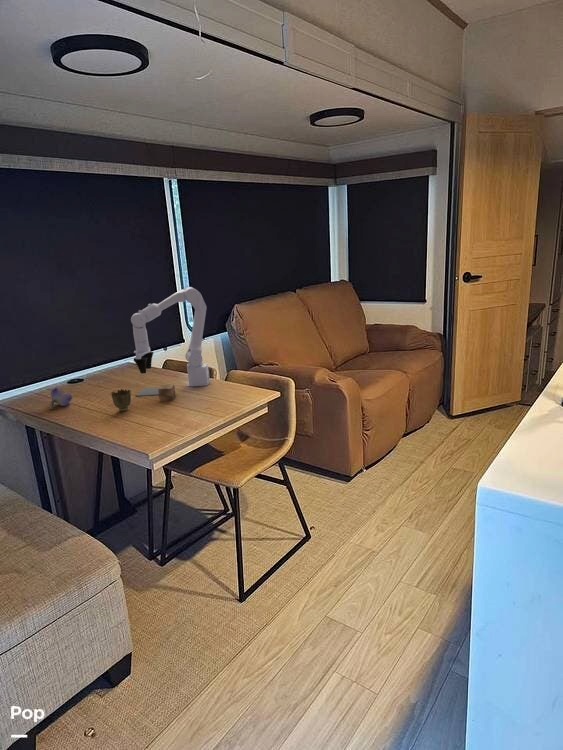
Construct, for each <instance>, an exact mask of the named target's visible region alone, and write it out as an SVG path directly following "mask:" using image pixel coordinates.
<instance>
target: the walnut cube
mask: <svg viewBox="0 0 563 750" xmlns="http://www.w3.org/2000/svg"><path fill="white" fill-rule="evenodd" d="M158 387H159V389H158V392H159V395H158V398H159V402H173V401H174V400H175V398H176V397H177V396H176V389H175V384H173V383H172V384H160V386H158Z"/></svg>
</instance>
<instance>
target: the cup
mask: <svg viewBox="0 0 563 750" xmlns="http://www.w3.org/2000/svg"><path fill="white" fill-rule="evenodd" d="M110 395H111V399H112V403H113V405H114V406H115V407H116V408H117V409H118V411H119V412H121V413H124V412H126V411H128V410H129V406H130V405H131V401H132V399H131V398H132V396H131V390H130V389H125V390H124V389H123V388H122V389H118V390H117V392H115V391H112V392H111V393H110Z"/></svg>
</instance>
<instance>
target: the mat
mask: <svg viewBox="0 0 563 750" xmlns="http://www.w3.org/2000/svg"><path fill="white" fill-rule="evenodd" d="M159 387H160V386H151V387H150V386H149V387H142V388H141V389H140V390H139V391H138V393H137V394H136V395H135V397H148V396H149V397H152V396H159V392H158V389H159Z"/></svg>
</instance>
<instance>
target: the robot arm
mask: <svg viewBox="0 0 563 750" xmlns="http://www.w3.org/2000/svg"><path fill="white" fill-rule="evenodd" d="M185 302H187V303H189V304H190V305H191V306H192V307H193V309H194V316H193V322H192V329H191V335H190V343H189V346H188V350H187V351H186V353H185V360H186V361H187V364H186V370H187V379H188V380H187V381H188V383H187V385H186V387H189V388H190V387H207V386H208V385H209V383H210V382H211V379H210V371H209V366H208V364H203V355H202V353H203V351H202V343H203V336H204V335H203V334H204V330H205V321H206V316H207V307H208V306H207V304H206V302H205V300H204V298H203V296H202V293H201V292H200V291H199V290H198V289H196V288H194V287H192V286H186V287H184V288H183V289H180V290H178V291H177V292H174V293H173V294H171V295H170V296H168V297H167V298H165V299H164V300H162V301H161V302H159V303H154V302H153V303H148V304H147V306H146V307H145V308H143V309H142V310H141V309H138V311H137V312H135V313H133V314H132V316H131V317H130V322H131V324H132V330H133V331H132V332H133V333H132V334H133V339H134V345H135V350H134V351H133V354H135V357H134V358H133V361H134V362H135V365H136V366H137V368H138V370H139V373H140V375H141V374H142V375H143V374H146V373H147V369H151V368H152V360H153V355H154V351H151V347H150V343H149V338H148V330H147V328H146V327H147V326H146V324H147V323H149V322H151V321H153V320H154V319H156V318H158V317H160V316H161V314H162V311H163V310H165V309H167V308H170V307H171V306H173V305H175V304H177V303H185Z"/></svg>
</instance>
